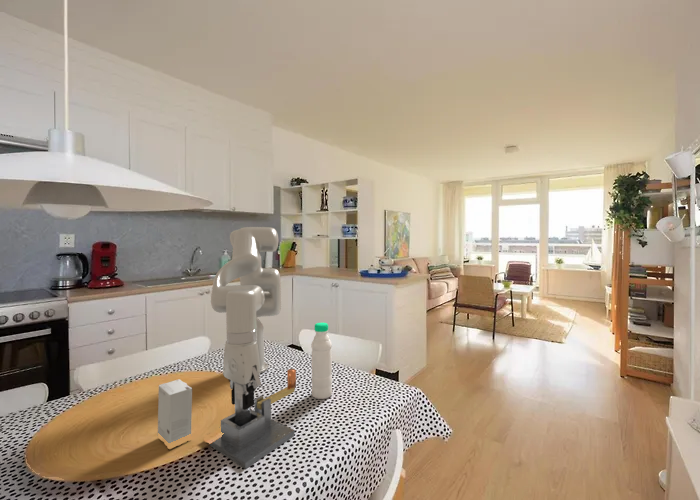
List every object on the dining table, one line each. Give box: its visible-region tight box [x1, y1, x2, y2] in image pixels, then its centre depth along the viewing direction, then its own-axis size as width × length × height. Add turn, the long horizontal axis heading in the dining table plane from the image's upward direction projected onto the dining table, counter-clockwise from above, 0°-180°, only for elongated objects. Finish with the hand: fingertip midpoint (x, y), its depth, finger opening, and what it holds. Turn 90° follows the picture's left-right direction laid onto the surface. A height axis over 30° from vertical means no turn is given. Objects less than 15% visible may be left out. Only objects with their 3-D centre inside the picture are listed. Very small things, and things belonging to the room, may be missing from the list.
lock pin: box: [257, 368, 297, 410], centre depth 95 cm, size 3×14×7 cm, turn 144°
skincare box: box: [157, 378, 193, 443], centre depth 87 cm, size 8×6×15 cm
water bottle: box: [310, 322, 333, 400], centre depth 111 cm, size 7×7×25 cm
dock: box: [209, 395, 295, 470], centre depth 87 cm, size 18×16×9 cm
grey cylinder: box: [233, 379, 252, 424], centre depth 85 cm, size 5×5×12 cm
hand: (242, 404), depth 85 cm, fingers closed on grey cylinder, 4 cm apart
